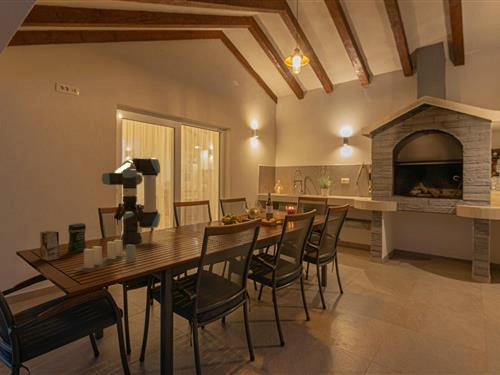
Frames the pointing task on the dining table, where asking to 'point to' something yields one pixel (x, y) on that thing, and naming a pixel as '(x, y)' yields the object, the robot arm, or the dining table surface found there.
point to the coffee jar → (76, 238)
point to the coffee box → (49, 245)
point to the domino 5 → (130, 253)
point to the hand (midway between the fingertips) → (129, 231)
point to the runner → (104, 263)
